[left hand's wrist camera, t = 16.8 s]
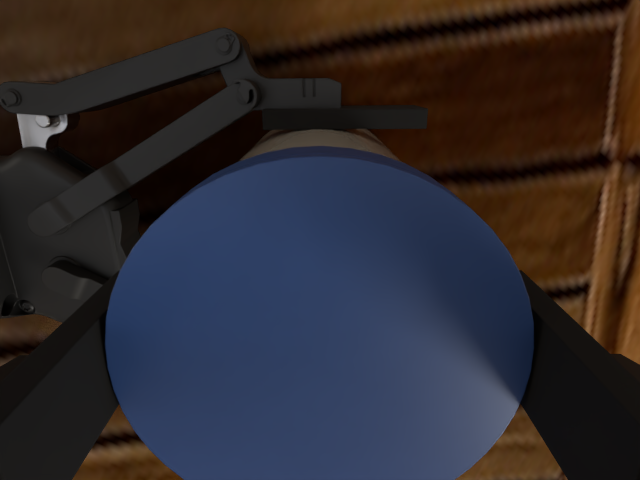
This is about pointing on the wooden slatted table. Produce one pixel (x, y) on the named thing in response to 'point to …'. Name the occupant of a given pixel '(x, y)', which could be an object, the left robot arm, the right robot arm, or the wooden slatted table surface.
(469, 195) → the wooden slatted table surface
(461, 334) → the lid
